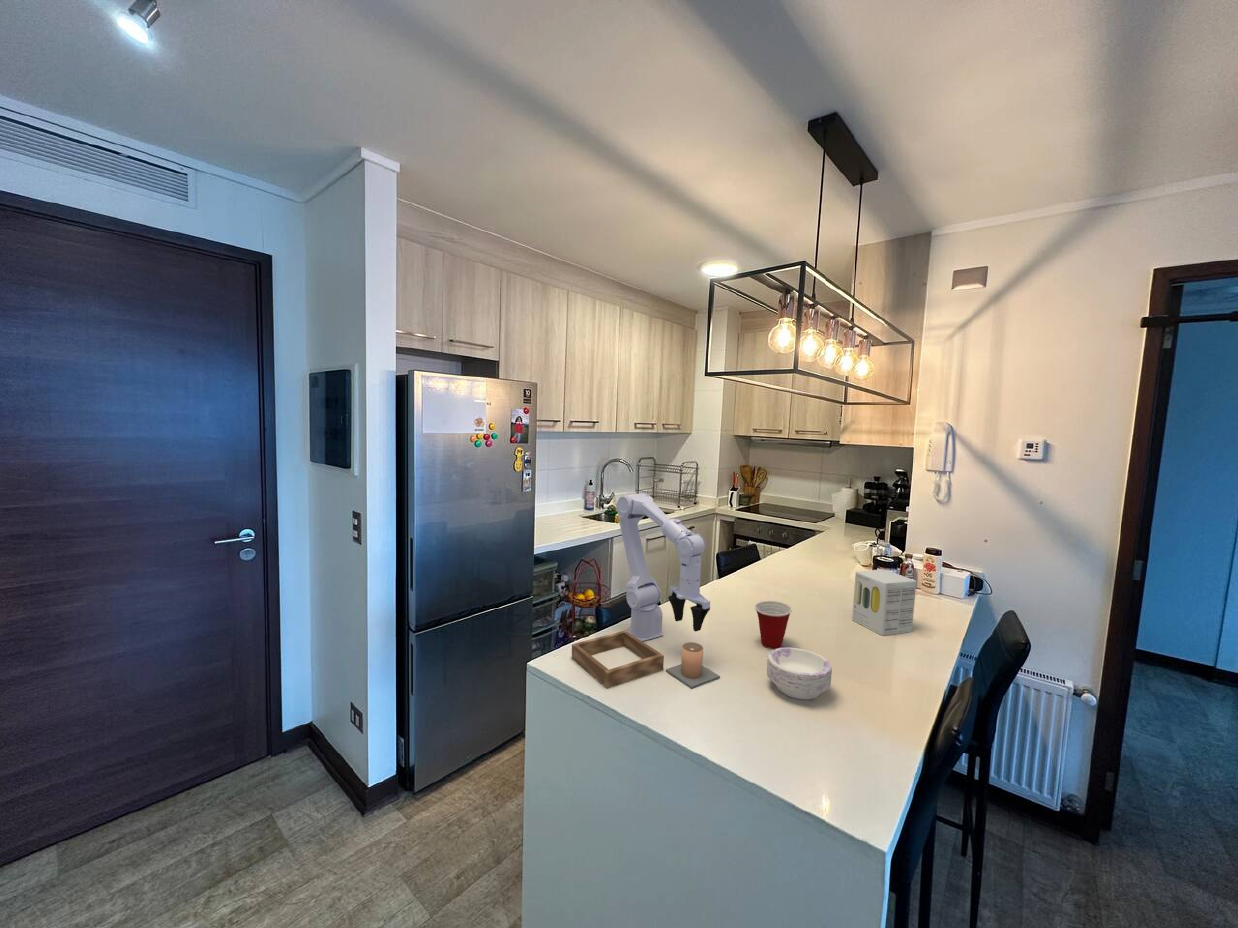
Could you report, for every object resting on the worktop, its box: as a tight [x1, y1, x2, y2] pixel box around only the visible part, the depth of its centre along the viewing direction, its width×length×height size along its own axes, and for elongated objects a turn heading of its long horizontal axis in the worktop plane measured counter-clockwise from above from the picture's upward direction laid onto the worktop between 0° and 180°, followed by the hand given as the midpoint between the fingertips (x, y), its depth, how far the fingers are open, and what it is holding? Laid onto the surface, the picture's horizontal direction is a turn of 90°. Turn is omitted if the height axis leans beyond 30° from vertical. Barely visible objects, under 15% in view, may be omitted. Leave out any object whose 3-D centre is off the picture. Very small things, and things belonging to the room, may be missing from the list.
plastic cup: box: [754, 600, 793, 650], centre depth 147 cm, size 11×11×12 cm
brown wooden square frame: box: [571, 630, 665, 689], centre depth 132 cm, size 18×18×4 cm
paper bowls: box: [766, 647, 833, 701], centre depth 122 cm, size 15×15×8 cm
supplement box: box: [851, 568, 917, 636], centre depth 164 cm, size 13×13×18 cm
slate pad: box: [665, 664, 721, 690], centre depth 128 cm, size 10×10×1 cm
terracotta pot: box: [680, 641, 704, 679], centre depth 127 cm, size 6×6×7 cm
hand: (687, 625), depth 137 cm, fingers open, 7 cm apart
